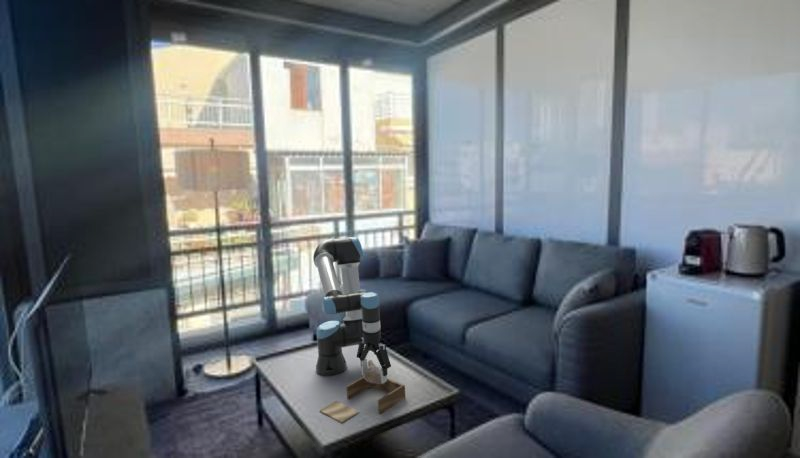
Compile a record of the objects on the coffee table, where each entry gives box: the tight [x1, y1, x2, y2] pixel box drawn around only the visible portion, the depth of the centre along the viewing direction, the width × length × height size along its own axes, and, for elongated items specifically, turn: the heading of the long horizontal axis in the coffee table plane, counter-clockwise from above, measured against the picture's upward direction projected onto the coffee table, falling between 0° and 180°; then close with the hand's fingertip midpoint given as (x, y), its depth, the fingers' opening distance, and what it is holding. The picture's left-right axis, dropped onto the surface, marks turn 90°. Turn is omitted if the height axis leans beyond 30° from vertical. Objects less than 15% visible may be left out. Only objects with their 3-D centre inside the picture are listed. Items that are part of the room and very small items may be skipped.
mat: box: [319, 400, 360, 424], centre depth 181 cm, size 14×9×1 cm, turn 49°
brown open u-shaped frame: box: [346, 376, 406, 415], centre depth 190 cm, size 20×16×6 cm
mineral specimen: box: [363, 360, 381, 384], centre depth 190 cm, size 13×7×6 cm, turn 27°
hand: (374, 378), depth 189 cm, fingers closed on mineral specimen, 11 cm apart
